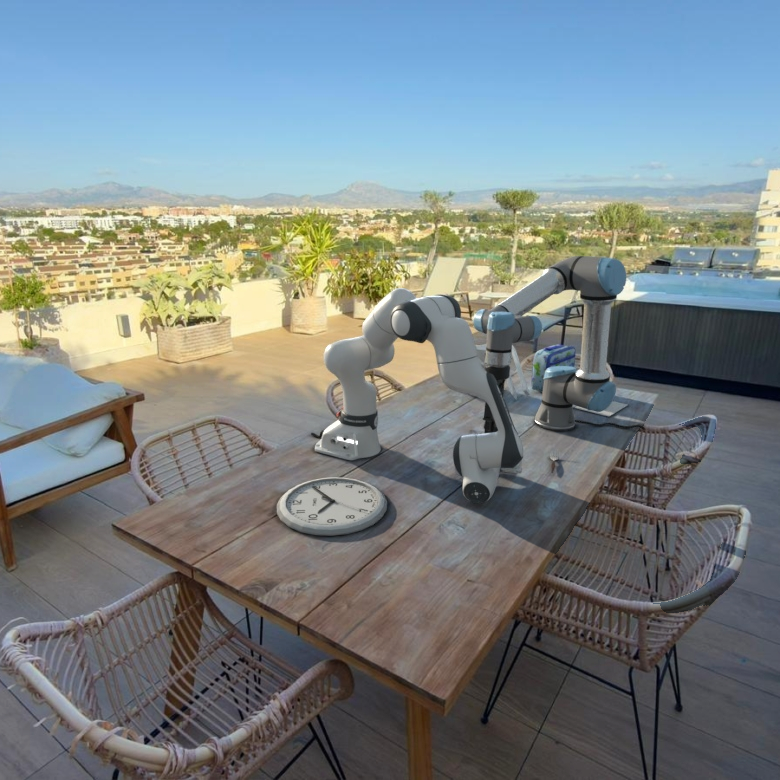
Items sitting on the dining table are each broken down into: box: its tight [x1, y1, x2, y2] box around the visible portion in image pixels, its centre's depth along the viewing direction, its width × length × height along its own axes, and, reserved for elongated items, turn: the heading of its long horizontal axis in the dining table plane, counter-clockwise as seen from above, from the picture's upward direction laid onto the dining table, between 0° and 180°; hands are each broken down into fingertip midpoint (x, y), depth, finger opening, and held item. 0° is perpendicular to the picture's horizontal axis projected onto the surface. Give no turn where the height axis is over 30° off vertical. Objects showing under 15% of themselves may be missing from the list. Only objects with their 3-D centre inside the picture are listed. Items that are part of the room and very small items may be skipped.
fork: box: [549, 449, 560, 474], centre depth 170 cm, size 3×16×2 cm, turn 160°
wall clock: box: [276, 476, 388, 537], centre depth 142 cm, size 30×2×30 cm
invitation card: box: [573, 400, 629, 418], centre depth 226 cm, size 21×1×15 cm
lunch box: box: [530, 344, 577, 392], centre depth 247 cm, size 26×11×21 cm, turn 134°
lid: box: [483, 421, 498, 432], centre depth 162 cm, size 5×5×2 cm
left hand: (490, 450), depth 165 cm, fingers closed on jar, 5 cm apart
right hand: (491, 435), depth 163 cm, fingers open, 7 cm apart
